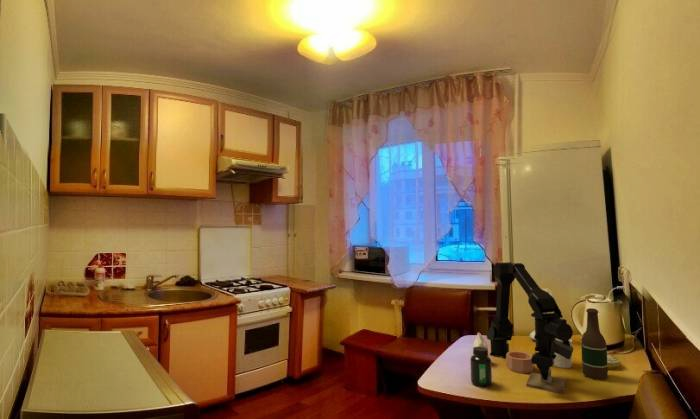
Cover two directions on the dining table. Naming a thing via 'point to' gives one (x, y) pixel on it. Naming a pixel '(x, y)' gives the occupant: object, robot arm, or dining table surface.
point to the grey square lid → (546, 383)
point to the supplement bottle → (481, 368)
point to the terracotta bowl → (519, 362)
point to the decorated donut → (613, 362)
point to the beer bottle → (594, 349)
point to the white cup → (563, 359)
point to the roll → (480, 342)
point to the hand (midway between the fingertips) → (546, 378)
